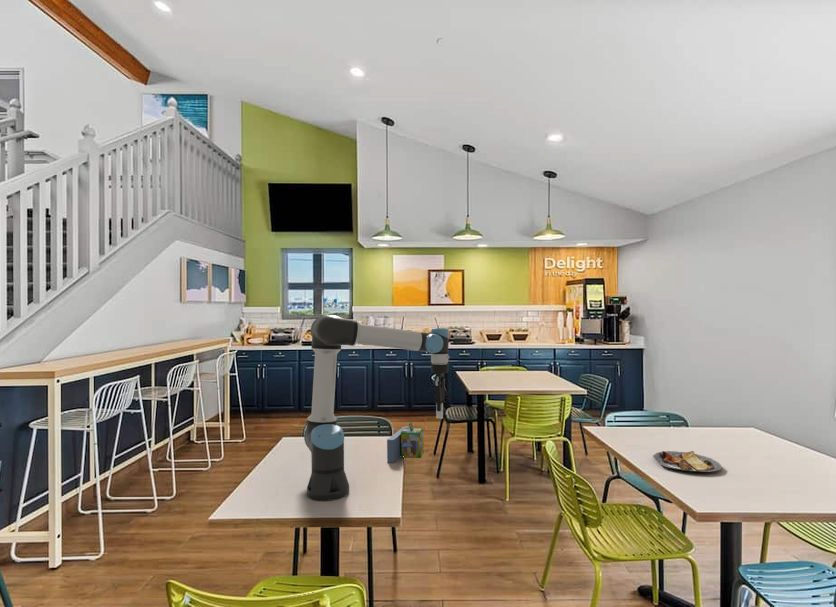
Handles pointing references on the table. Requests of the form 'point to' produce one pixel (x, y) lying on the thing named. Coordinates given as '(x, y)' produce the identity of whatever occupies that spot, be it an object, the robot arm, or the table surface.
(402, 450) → the chalk box
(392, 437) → the grayish blue board
